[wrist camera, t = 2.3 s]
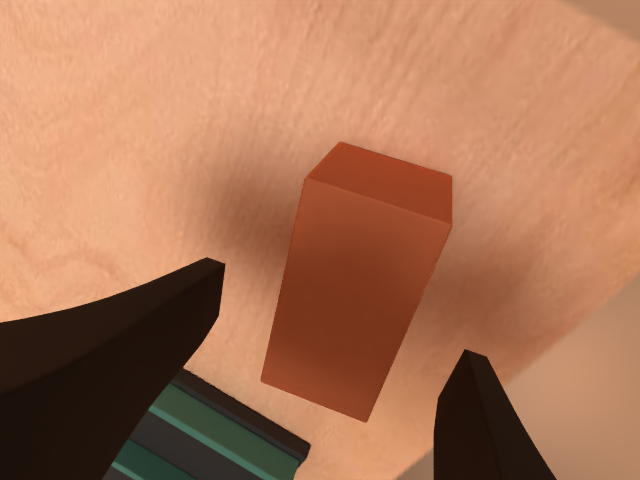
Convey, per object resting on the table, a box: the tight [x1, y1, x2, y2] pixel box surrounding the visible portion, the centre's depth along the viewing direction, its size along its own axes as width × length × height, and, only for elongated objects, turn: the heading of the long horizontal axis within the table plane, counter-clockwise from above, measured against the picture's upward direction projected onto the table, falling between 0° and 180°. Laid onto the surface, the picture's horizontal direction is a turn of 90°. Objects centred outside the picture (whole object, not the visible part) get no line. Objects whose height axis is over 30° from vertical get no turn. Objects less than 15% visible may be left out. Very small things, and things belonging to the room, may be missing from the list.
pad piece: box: [261, 142, 452, 422], centre depth 15 cm, size 4×8×4 cm, turn 167°
